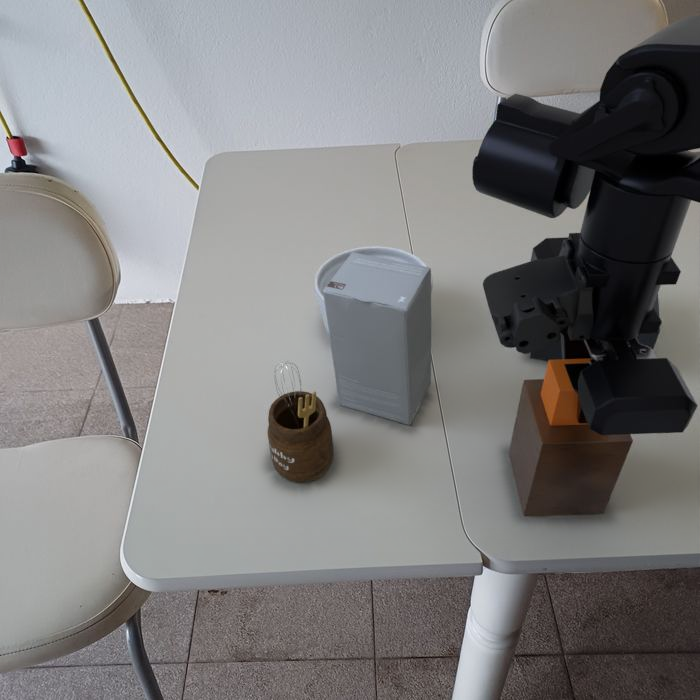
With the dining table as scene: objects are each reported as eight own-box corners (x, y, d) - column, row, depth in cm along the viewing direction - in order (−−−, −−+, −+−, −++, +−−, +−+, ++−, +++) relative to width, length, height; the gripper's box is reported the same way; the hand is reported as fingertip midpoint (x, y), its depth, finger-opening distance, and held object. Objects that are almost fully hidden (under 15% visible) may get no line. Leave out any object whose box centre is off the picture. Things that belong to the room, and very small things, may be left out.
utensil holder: (317, 427, 65) (307, 338, 57) (346, 471, 61) (340, 382, 53) (263, 450, 63) (245, 361, 55) (289, 497, 59) (273, 409, 51)
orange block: (600, 392, 54) (611, 357, 51) (613, 424, 51) (626, 389, 48) (540, 394, 54) (548, 359, 51) (550, 426, 51) (559, 391, 48)
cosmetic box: (431, 386, 69) (440, 263, 58) (407, 434, 64) (411, 309, 53) (359, 364, 72) (354, 243, 61) (330, 409, 67) (320, 286, 56)
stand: (581, 450, 62) (606, 376, 55) (603, 514, 57) (633, 440, 50) (508, 453, 62) (523, 379, 55) (523, 516, 57) (542, 443, 50)
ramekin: (294, 331, 76) (289, 283, 71) (366, 278, 83) (365, 232, 79) (382, 381, 69) (382, 332, 65) (452, 319, 77) (456, 271, 72)
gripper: (478, 174, 48) (461, 331, 59) (532, 339, 35) (497, 505, 45) (627, 168, 48) (583, 327, 59) (741, 331, 35) (657, 500, 45)
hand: (577, 403), depth 52 cm, fingers closed on orange block, 3 cm apart
